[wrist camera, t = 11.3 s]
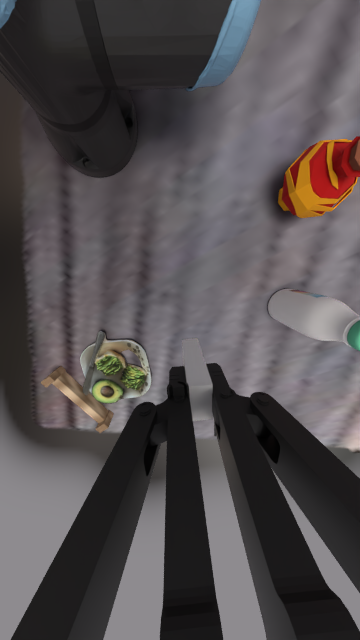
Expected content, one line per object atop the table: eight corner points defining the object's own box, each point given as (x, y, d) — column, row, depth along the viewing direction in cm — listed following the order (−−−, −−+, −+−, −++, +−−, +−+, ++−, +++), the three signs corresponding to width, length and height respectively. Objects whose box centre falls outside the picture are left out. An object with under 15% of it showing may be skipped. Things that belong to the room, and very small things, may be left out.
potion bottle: (258, 180, 34) (321, 119, 20) (311, 154, 33) (416, 71, 19) (272, 235, 37) (335, 216, 23) (320, 212, 36) (418, 178, 22)
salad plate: (69, 331, 42) (57, 339, 38) (144, 324, 42) (141, 331, 38) (89, 398, 48) (80, 412, 43) (155, 391, 48) (153, 404, 44)
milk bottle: (275, 326, 43) (356, 374, 24) (261, 300, 41) (337, 331, 22) (303, 308, 42) (412, 344, 23) (291, 281, 40) (398, 296, 21)
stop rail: (52, 371, 44) (40, 382, 40) (60, 365, 44) (49, 376, 40) (106, 418, 50) (100, 432, 45) (113, 413, 49) (108, 427, 45)
